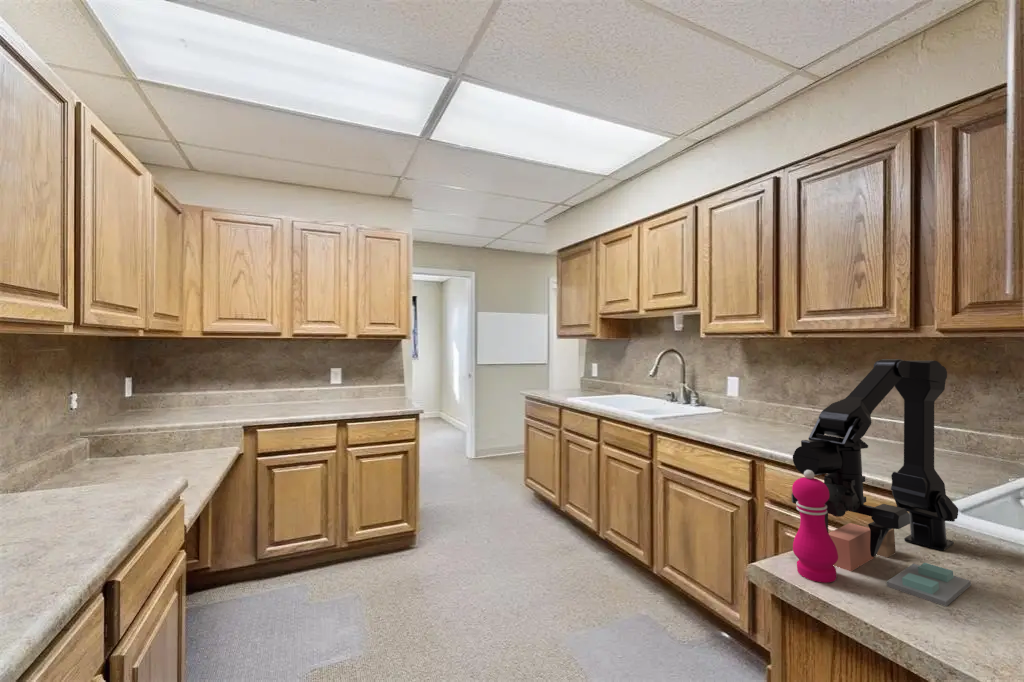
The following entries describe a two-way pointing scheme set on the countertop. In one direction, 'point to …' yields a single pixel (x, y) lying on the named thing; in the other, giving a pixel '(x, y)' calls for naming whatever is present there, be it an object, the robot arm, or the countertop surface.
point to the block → (887, 544)
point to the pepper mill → (813, 531)
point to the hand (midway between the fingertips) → (848, 548)
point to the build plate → (930, 583)
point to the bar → (851, 546)
